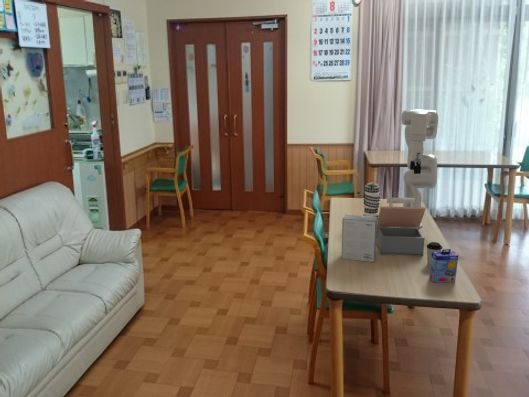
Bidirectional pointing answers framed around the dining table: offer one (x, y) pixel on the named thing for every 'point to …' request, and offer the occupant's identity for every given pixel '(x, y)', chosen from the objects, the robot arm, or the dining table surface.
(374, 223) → the hard drive box
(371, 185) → the decorative candle
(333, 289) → the dining table surface
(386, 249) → the box
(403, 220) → the flap
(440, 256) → the ink cartridge box
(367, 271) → the dining table surface
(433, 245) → the coffee cup
